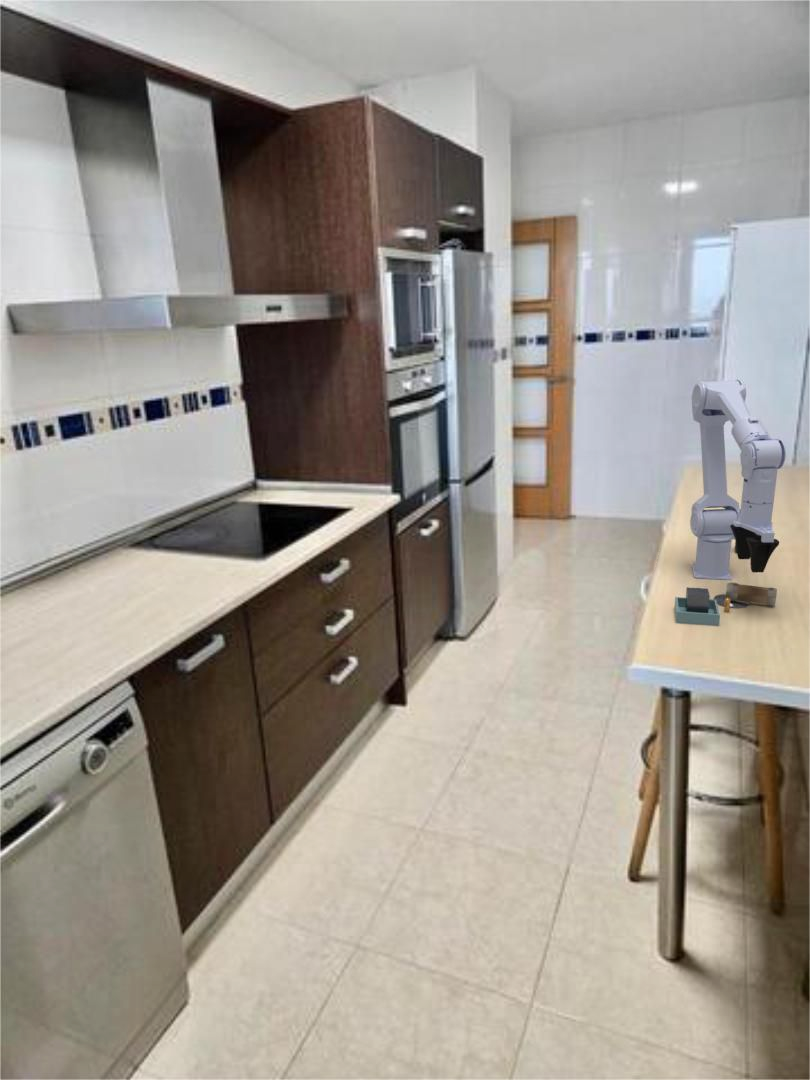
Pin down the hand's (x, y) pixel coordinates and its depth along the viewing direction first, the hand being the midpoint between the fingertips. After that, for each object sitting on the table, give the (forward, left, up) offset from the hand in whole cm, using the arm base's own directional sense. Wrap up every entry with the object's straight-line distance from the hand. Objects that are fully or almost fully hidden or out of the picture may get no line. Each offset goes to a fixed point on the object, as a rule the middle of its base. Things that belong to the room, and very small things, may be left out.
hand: (750, 565), depth 142 cm
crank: (-1, -3, -9) cm, 9 cm away
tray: (+8, -10, -9) cm, 16 cm away
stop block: (+8, -10, -9) cm, 15 cm away
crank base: (-1, -3, -9) cm, 9 cm away
